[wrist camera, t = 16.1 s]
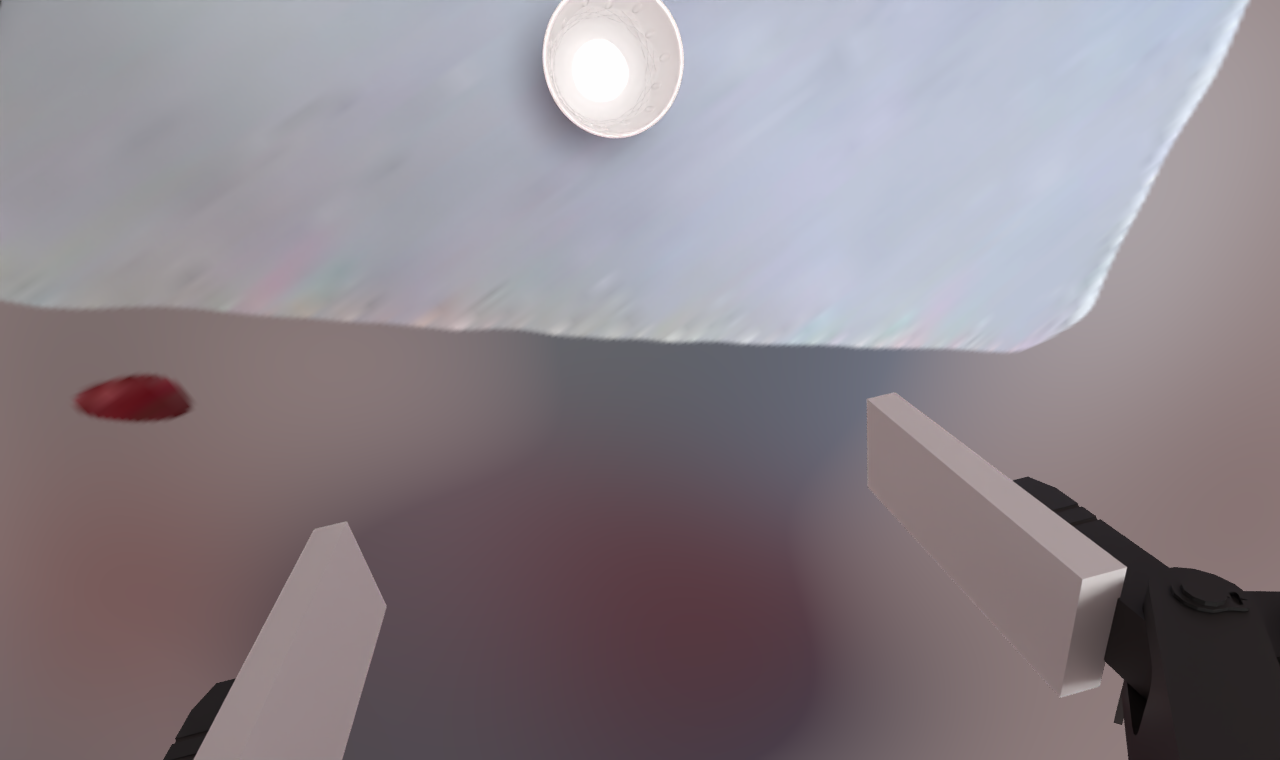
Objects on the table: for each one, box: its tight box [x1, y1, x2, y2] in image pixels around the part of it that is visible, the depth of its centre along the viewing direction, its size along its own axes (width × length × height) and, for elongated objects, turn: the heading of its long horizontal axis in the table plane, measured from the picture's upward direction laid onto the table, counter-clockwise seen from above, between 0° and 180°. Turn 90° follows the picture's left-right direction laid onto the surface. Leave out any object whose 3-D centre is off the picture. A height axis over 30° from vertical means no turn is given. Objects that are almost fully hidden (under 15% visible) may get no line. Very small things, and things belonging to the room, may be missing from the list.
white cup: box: [542, 0, 684, 138], centre depth 38 cm, size 8×8×10 cm
